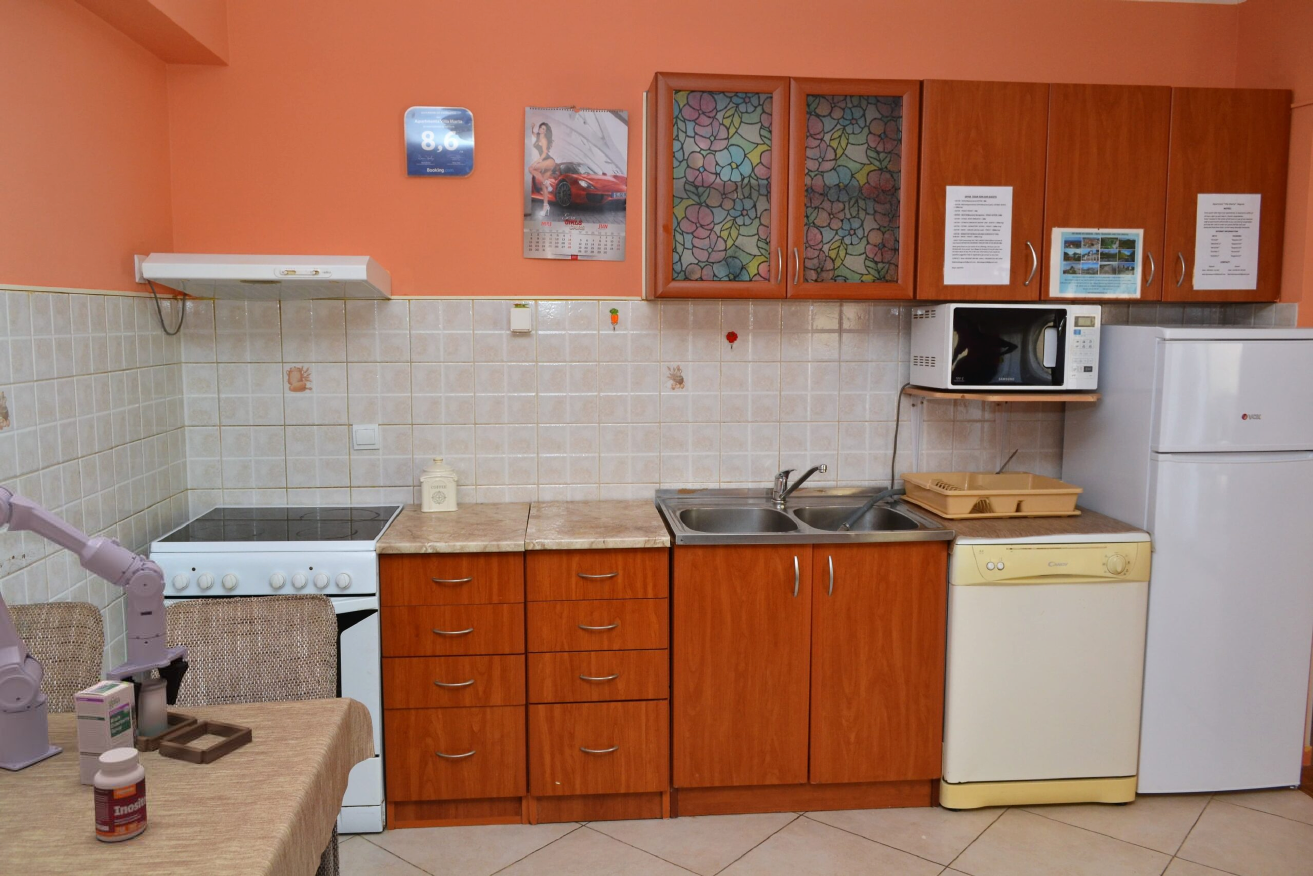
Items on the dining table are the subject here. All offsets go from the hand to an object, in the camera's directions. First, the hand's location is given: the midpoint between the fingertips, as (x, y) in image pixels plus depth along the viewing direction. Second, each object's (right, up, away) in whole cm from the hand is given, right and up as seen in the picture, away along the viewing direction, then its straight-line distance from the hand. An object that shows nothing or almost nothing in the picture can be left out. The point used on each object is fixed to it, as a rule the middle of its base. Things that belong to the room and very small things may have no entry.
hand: (151, 712), depth 162 cm
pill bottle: (+13, -8, -31) cm, 34 cm away
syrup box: (+2, -6, -15) cm, 16 cm away
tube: (0, -4, 0) cm, 4 cm away
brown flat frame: (+6, -4, -2) cm, 7 cm away
